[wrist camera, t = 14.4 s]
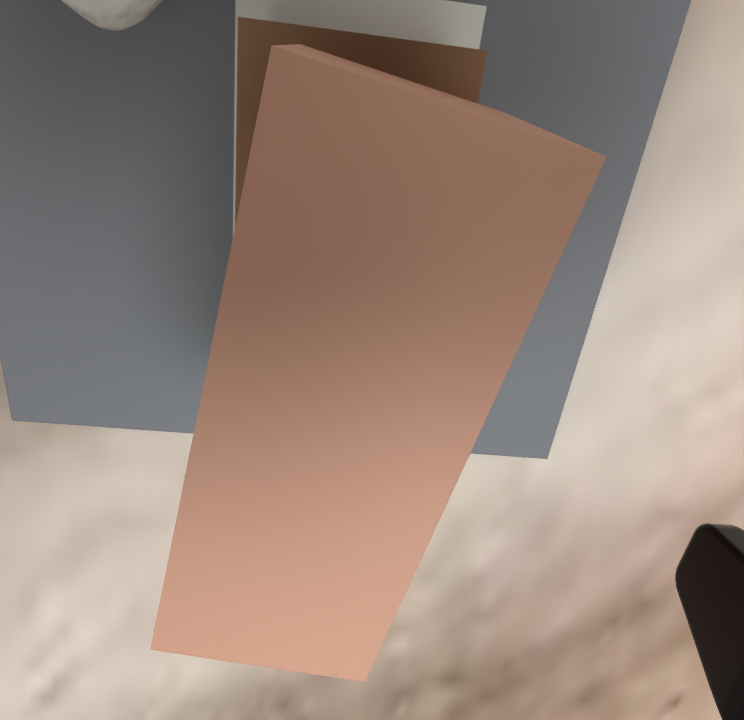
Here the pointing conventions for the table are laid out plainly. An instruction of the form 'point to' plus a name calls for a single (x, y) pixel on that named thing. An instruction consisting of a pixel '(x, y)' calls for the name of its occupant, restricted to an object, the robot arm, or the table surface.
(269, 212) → the cap block
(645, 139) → the mat
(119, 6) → the square plate
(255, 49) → the walnut cube
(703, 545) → the robot arm
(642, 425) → the table surface
